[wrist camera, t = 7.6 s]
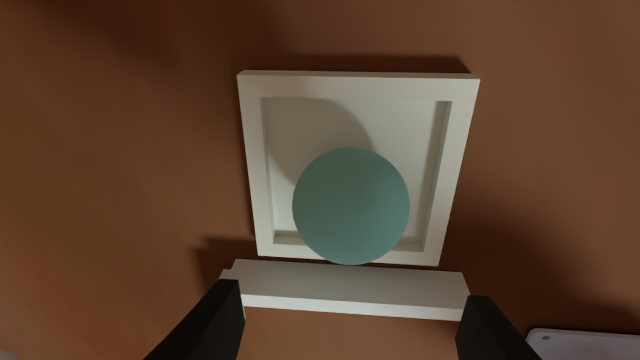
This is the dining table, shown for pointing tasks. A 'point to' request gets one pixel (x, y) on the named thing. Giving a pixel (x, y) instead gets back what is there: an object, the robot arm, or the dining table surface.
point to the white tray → (355, 145)
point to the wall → (350, 289)
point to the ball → (350, 206)
